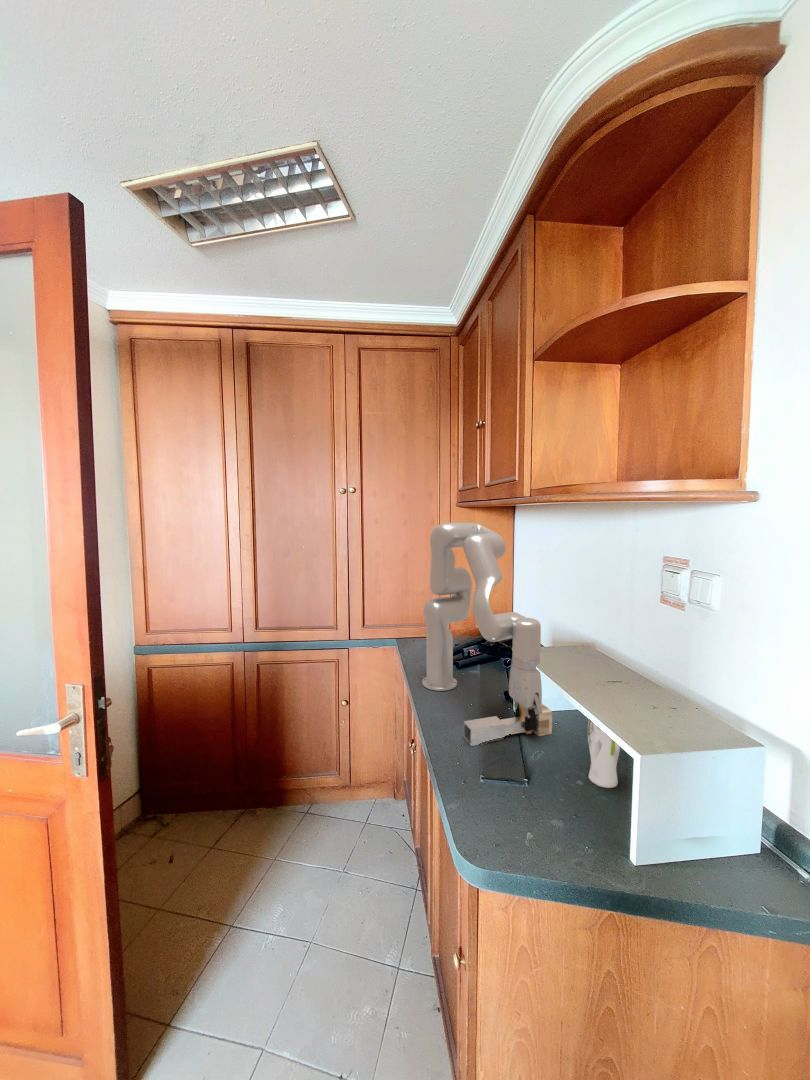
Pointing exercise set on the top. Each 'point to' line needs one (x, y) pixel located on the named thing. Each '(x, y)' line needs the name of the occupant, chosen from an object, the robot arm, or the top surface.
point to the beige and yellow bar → (517, 723)
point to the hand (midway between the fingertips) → (525, 725)
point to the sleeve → (483, 730)
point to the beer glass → (602, 757)
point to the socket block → (544, 721)
